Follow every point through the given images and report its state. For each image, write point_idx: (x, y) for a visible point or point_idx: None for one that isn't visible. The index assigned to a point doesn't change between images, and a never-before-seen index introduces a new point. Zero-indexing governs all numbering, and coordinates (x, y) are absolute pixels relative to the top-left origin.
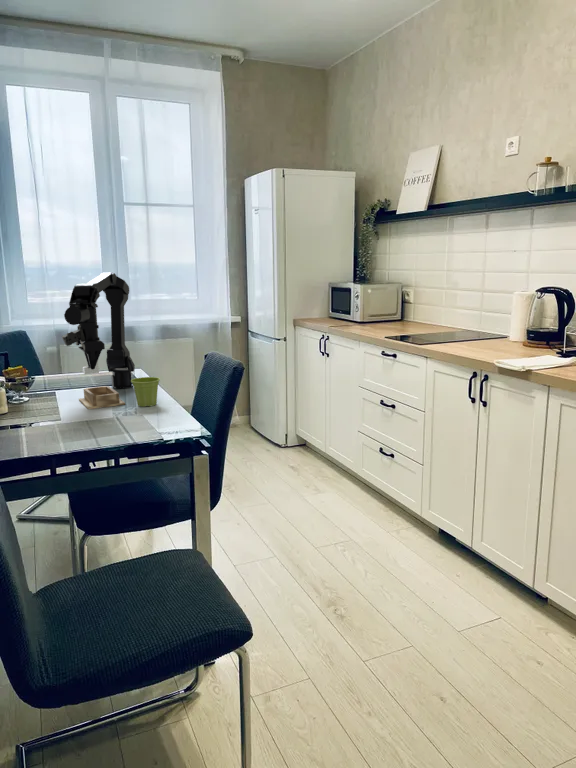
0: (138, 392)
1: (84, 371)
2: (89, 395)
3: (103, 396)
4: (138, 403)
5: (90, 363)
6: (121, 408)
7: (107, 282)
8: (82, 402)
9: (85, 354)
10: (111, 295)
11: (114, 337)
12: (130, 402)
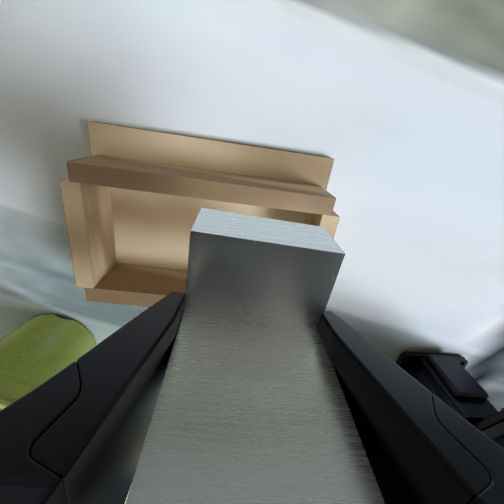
0: None
1: (214, 219)
2: (167, 172)
3: (69, 220)
4: (36, 320)
5: (121, 331)
6: (40, 253)
7: None
8: (239, 144)
9: (436, 459)
10: None
11: None
12: (139, 314)
